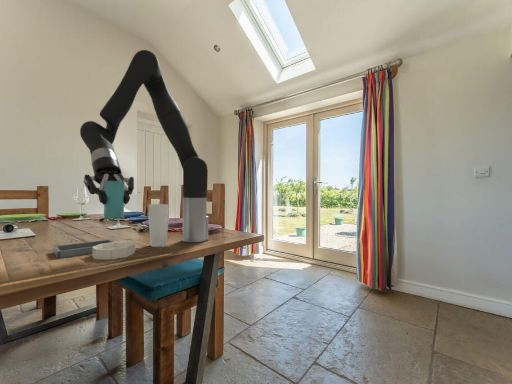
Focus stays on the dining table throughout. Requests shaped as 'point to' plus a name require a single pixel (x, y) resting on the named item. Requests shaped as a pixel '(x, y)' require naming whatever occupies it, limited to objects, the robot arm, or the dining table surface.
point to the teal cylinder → (114, 199)
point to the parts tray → (77, 248)
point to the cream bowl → (113, 250)
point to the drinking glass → (158, 224)
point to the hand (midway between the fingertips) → (116, 202)
